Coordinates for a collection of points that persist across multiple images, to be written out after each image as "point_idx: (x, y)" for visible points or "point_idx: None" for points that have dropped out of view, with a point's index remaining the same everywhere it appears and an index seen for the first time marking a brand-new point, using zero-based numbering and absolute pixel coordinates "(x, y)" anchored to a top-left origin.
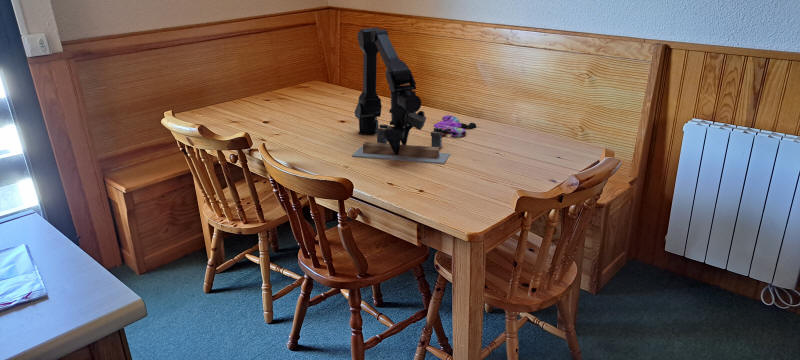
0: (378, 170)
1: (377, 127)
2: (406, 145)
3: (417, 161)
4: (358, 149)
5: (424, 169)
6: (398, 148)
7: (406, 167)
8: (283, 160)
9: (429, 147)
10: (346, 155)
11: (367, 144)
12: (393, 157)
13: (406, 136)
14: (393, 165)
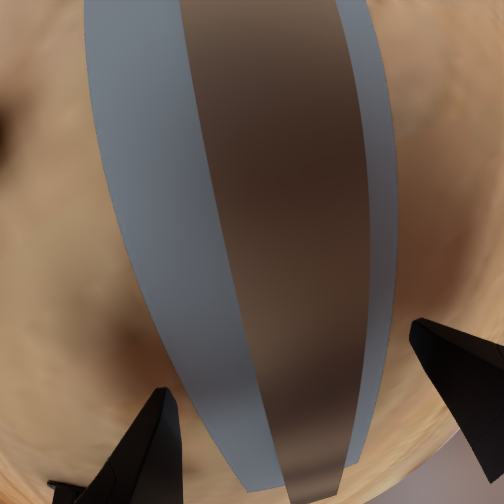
0: (495, 298)
1: (62, 500)
2: (276, 371)
3: (387, 129)
4: (284, 484)
5: (466, 54)
6: (480, 339)
7: (475, 179)
8: (390, 487)
9: (229, 5)
10: (343, 470)
11: (328, 492)
12: (368, 344)
13: (148, 470)
14: (457, 272)
